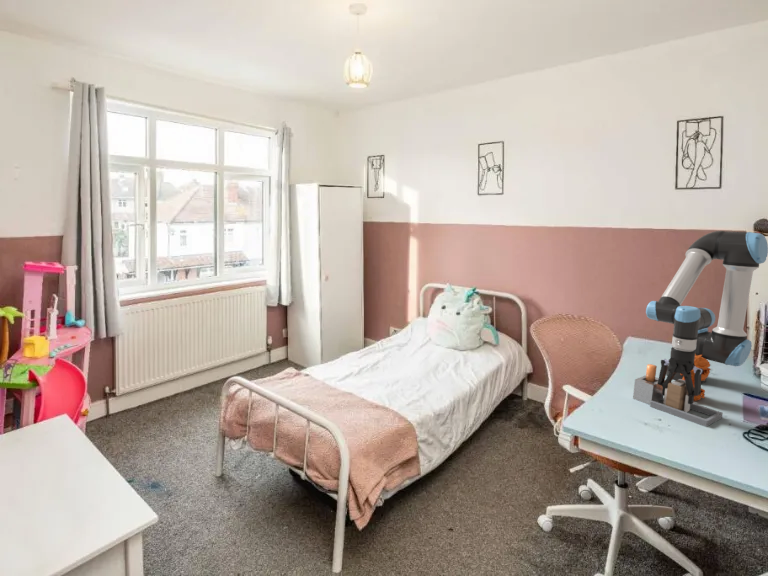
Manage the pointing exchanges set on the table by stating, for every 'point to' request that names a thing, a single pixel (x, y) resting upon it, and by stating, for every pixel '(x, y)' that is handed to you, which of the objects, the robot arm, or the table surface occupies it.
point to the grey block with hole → (647, 390)
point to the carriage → (676, 394)
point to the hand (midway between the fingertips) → (676, 407)
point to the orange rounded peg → (651, 373)
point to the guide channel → (705, 422)
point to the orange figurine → (703, 364)
